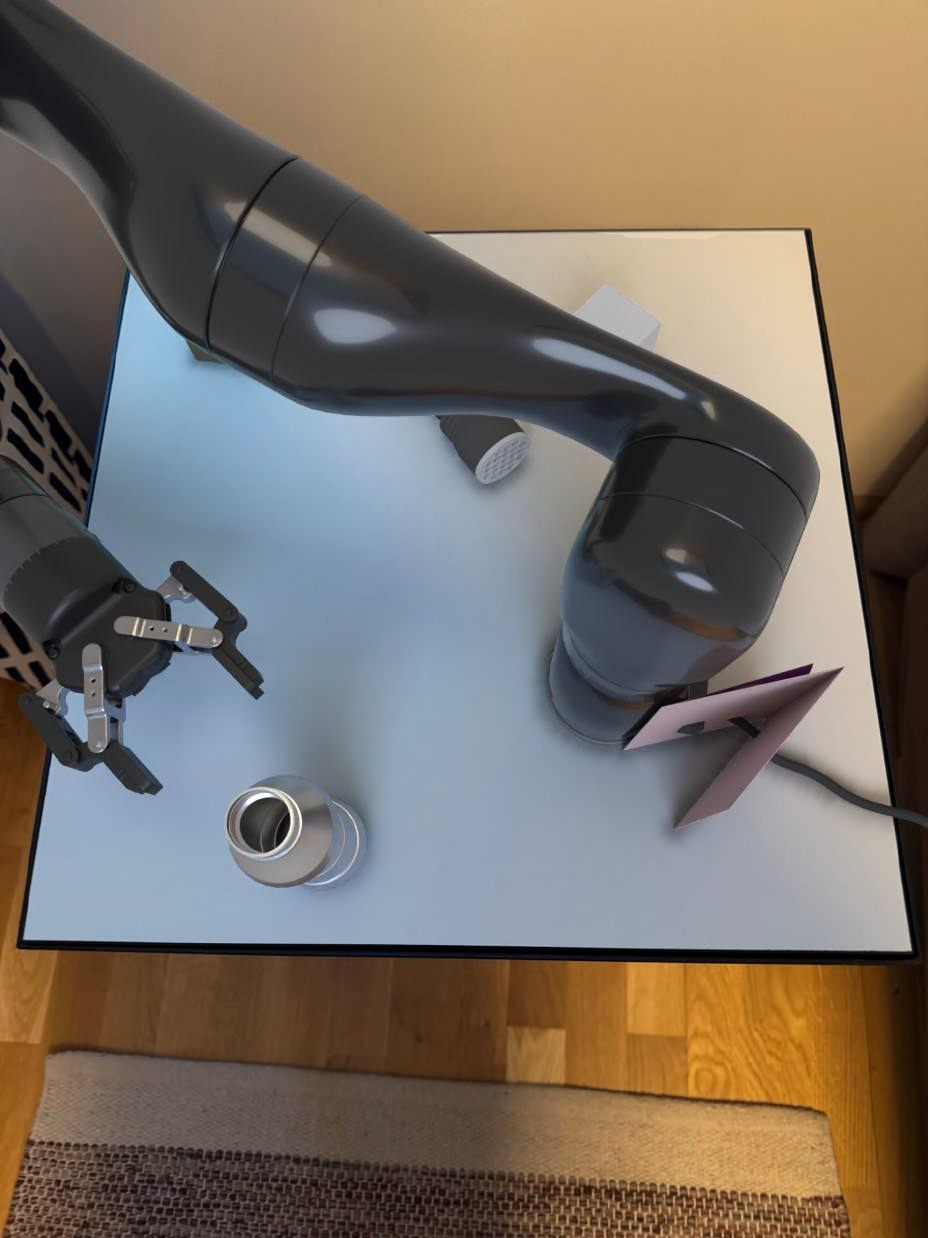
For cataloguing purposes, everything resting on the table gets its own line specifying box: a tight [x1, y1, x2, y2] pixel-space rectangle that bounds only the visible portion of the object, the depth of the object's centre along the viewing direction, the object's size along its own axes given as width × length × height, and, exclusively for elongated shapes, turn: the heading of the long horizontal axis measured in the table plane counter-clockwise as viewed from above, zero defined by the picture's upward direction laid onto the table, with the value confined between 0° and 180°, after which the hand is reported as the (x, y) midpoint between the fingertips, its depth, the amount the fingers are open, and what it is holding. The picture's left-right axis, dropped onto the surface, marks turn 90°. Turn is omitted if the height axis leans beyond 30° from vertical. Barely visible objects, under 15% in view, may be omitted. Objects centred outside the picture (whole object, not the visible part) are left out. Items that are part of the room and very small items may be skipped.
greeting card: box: [622, 662, 846, 831], centre depth 56 cm, size 11×7×15 cm, turn 102°
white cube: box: [572, 282, 663, 353], centre depth 72 cm, size 6×6×6 cm
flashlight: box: [434, 415, 532, 485], centre depth 71 cm, size 15×5×5 cm, turn 36°
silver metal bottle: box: [223, 774, 368, 891], centre depth 53 cm, size 6×7×20 cm
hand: (207, 741), depth 53 cm, fingers open, 8 cm apart
